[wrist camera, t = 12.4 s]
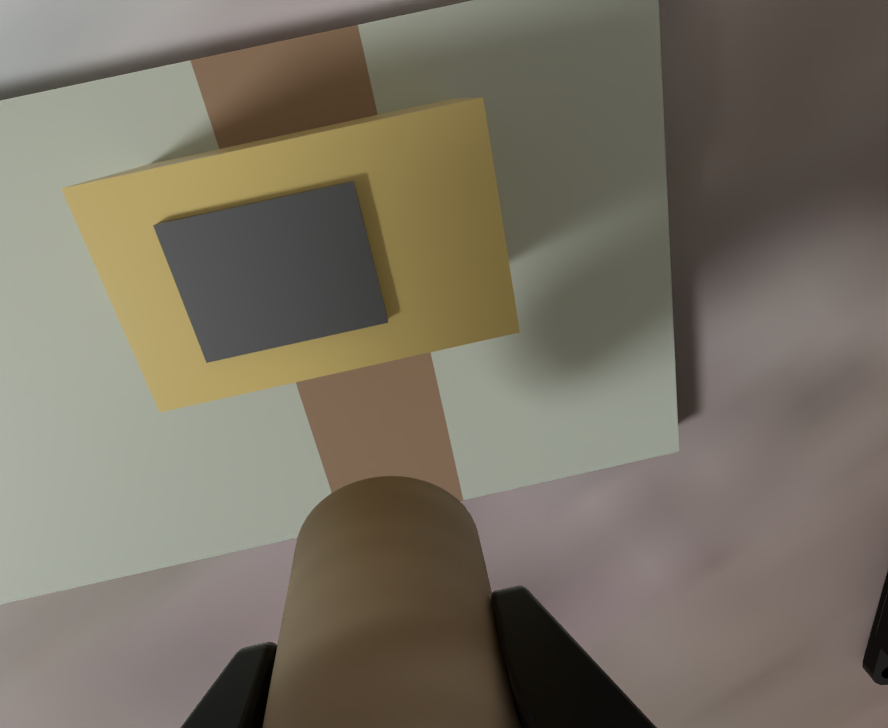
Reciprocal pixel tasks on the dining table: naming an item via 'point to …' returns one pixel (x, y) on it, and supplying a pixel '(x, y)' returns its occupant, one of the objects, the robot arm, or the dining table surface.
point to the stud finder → (304, 252)
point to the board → (359, 390)
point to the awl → (389, 617)
